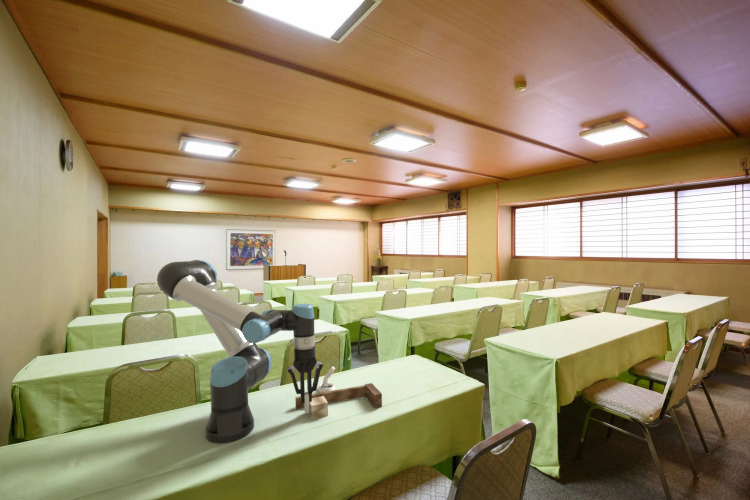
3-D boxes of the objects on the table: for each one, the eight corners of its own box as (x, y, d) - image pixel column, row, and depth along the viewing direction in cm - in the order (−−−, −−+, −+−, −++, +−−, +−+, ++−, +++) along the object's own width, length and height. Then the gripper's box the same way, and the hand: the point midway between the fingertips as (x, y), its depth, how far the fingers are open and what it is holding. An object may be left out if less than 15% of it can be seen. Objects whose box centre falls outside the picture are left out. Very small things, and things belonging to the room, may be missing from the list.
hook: (347, 379, 146) (333, 372, 143) (330, 401, 146) (317, 395, 144) (343, 369, 153) (331, 363, 150) (328, 391, 153) (315, 384, 151)
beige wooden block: (311, 419, 123) (311, 405, 123) (308, 412, 128) (308, 398, 128) (327, 416, 125) (327, 402, 125) (323, 408, 131) (323, 395, 131)
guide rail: (300, 422, 120) (300, 408, 120) (295, 407, 132) (295, 394, 132) (384, 406, 132) (384, 393, 132) (372, 393, 144) (372, 381, 143)
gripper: (287, 352, 119) (289, 419, 119) (324, 347, 123) (326, 411, 124) (285, 346, 126) (287, 410, 126) (320, 342, 130) (322, 403, 131)
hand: (306, 410), depth 125 cm, fingers closed
